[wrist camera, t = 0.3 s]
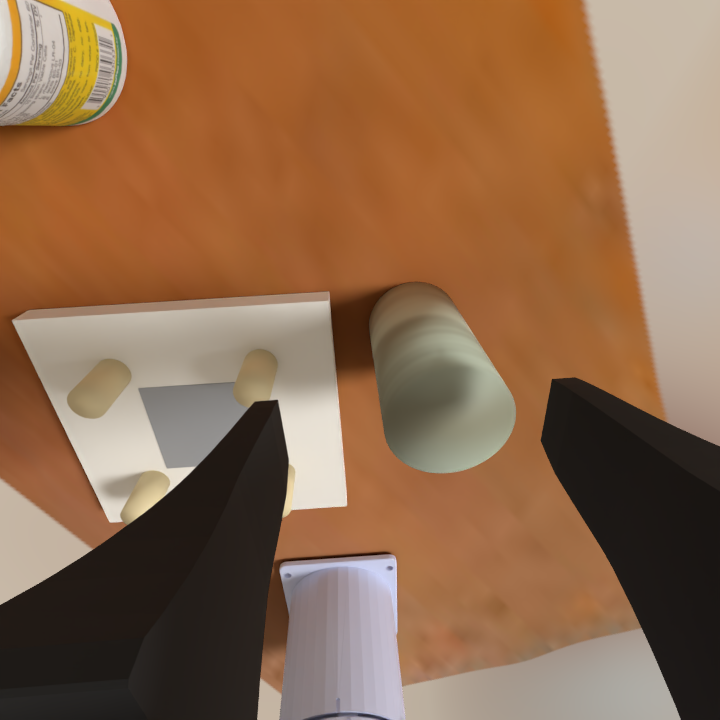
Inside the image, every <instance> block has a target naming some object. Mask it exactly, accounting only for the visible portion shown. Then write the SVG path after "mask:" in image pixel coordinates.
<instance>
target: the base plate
mask: <svg viewBox="0 0 720 720" xmlns="http://www.w3.org/2000/svg"><path fill="white" fill-rule="evenodd" d="M12 322H13V324H14V326H15V328H16V330H17V332H18V334H19V337H20V339H21V341H22V343H23V345H24V347H25V349H26V351H27V353H28V355H29V357H30V359H31V361H32V363H33V365H34V367H35V370H36V372H37V374H38V376H39V378H40V380H41V382H42V384H43V386H44V388H45V390H46V392H47V394H48V396H49V398H50V400H51V402H52V405H53V407H54V409H55V411H56V413H57V415H58V417H59V419H60V421H61V423H62V425H63V427H64V429H65V431H66V433H67V435H68V437H69V440H70V442H71V444H72V446H73V448H74V450H75V452H76V454H77V456H78V458H79V460H80V462H81V464H82V466H83V468H84V470H85V473H86V475H87V477H88V479H89V481H90V483H91V485H92V487H93V489H94V491H95V493H96V495H97V497H98V499H99V501H100V503H101V505H102V508H103V510H104V512H105V514H106V516H107V518H108V520H109V522H110V523H111V522H124V523H125V524H127V525H128V524H130V523H131V522H133V521H134V520H135V519H137V518H138V517H139V516H141V515H142V514H143V513H145V512H146V511H147V510H148V509H150V508H151V507H152V506H153V505H155V504H156V503H157V502H158V501H159V500H161V499H162V498H163V497H164V496H165V495H167V494H168V493H169V492H170V491H171V490H172V489H173V488H175V487H176V486H177V485H178V484H179V483H180V482H181V481H182V480H183V479H184V478H185V477H187V476H188V475H189V474H190V473H191V472H192V471H193V470H194V469H195V468H196V466H197V465H198V464H199V463H200V462H201V461H202V460H203V459H204V458H205V457H206V456H207V455H208V454H209V453H210V452H211V451H212V450H213V449H214V448H215V447H216V445H217V444H218V443H219V442H220V441H221V440H222V439H223V438H224V437H225V435H226V434H227V433H228V432H229V431H230V430H231V428H232V427H233V426H234V425H235V424H236V423H237V421H238V420H239V419H240V418H241V417H242V415H243V414H244V413H245V412H246V411H247V410H248V408H249V407H250V406H251V405H252V404H253V403H254V402H255V401H267V400H278V402H279V408H280V413H281V419H282V424H283V430H284V435H285V441H286V446H287V452H288V457H289V468H288V483H287V495H286V500H285V506H284V511H283V516H282V518H283V517H285V516H287V515H288V514H289V513H290V511H291V510H297V509H311V508H325V507H340V506H347V490H346V478H345V467H344V456H343V444H342V433H341V421H340V410H339V399H338V387H337V376H336V364H335V353H334V341H333V330H332V319H331V307H330V296H329V291H328V292H312V293H296V294H280V295H263V296H247V297H231V298H215V299H198V300H182V301H166V302H150V303H133V304H117V305H101V306H85V307H69V308H52V309H36V310H28V311H26V312H25V313H23V314H21V315H20V316H18V317H16V318H15V319H13V320H12Z"/></svg>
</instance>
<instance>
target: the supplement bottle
mask: <svg viewBox="0 0 720 720" xmlns="http://www.w3.org/2000/svg"><path fill="white" fill-rule="evenodd" d="M126 71H127V50H126V45H125V40H124V36H123V32H122V28H121V25H120V22H119V20H118V17H117V15H116V13H115V11H114V9H113V7H112V5H111V3H110V1H109V0H0V126H5V125H39V126H73V125H81V124H85V123H88V122H91V121H93V120H96V119H98V118H100V117H101V116H103V115H104V114H105V113H106V112H108V111H109V110H110V109H111V107H112V106H113V105H114V104H115V102H116V101H117V99H118V97H119V95H120V93H121V91H122V89H123V85H124V82H125V78H126Z"/></svg>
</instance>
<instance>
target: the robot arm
mask: <svg viewBox="0 0 720 720" xmlns="http://www.w3.org/2000/svg"><path fill="white" fill-rule="evenodd" d="M541 442H542V445H543V447H544V450H545V452H546V454H547V457H548V459H549V461H550V463H551V466H552V468H553V470H554V472H555V474H556V476H557V477H558V479H559V481H560V482H561V484H562V486H563V487H564V489H565V491H566V492H567V494H568V495H569V497H570V499H571V500H572V502H573V503H574V505H575V507H576V508H577V510H578V511H579V513H580V515H581V516H582V518H583V519H584V521H585V523H586V524H587V526H588V527H589V529H590V531H591V532H592V534H593V535H594V537H595V539H596V540H597V542H598V543H599V545H600V547H601V548H602V550H603V552H604V553H605V555H606V557H607V559H608V560H609V562H610V564H611V566H612V567H613V569H614V571H615V573H616V575H617V578H618V580H619V582H620V584H621V586H622V588H623V590H624V592H625V594H626V596H627V598H628V600H629V602H630V604H631V606H632V608H633V610H634V612H635V614H636V617H637V619H638V621H639V623H640V625H641V627H642V630H643V632H644V634H645V636H646V638H647V640H648V643H649V645H650V647H651V649H652V651H653V653H654V656H655V658H656V661H657V663H658V665H659V668H660V670H661V672H662V675H663V677H664V680H665V682H666V684H667V687H668V689H669V691H670V693H671V696H672V698H673V701H674V703H675V705H676V708H677V711H678V713H679V716H680V718H681V720H720V446H717V445H715V444H713V443H710V442H708V441H706V440H703V439H701V438H699V437H697V436H695V435H692V434H690V433H688V432H686V431H683V430H681V429H679V428H677V427H675V426H673V425H671V424H669V423H667V422H665V421H662V420H660V419H658V418H656V417H654V416H652V415H650V414H648V413H646V412H644V411H642V410H640V409H638V408H637V407H635V406H633V405H631V404H629V403H627V402H625V401H623V400H621V399H619V398H617V397H615V396H613V395H611V394H609V393H607V392H605V391H603V390H601V389H599V388H597V387H595V386H593V385H591V384H589V383H587V382H585V381H583V380H580V379H578V378H562V379H552V382H551V388H550V393H549V399H548V404H547V409H546V415H545V420H544V426H543V431H542V437H541ZM288 468H289V457H288V452H287V446H286V441H285V435H284V430H283V424H282V419H281V413H280V408H279V402H278V400H267V401H255V402H254V403H253V404H252V405H251V406H250V407H249V408H248V410H247V411H246V412H245V413H244V414H243V415H242V417H241V418H240V419H239V420H238V421H237V423H236V424H235V425H234V426H233V427H232V428H231V430H230V431H229V432H228V433H227V434H226V435H225V437H224V438H223V439H222V440H221V441H220V442H219V443H218V444H217V445H216V447H215V448H214V449H213V450H212V451H211V452H210V453H209V454H208V455H207V456H206V457H205V458H204V459H203V460H202V461H201V462H200V463H199V464H198V465H197V466H196V468H195V469H194V470H193V471H192V472H191V473H190V474H189V475H188V476H187V477H185V478H184V479H183V480H182V481H181V482H180V483H179V484H178V485H177V486H176V487H175V488H173V489H172V490H171V491H170V492H169V493H168V494H167V495H165V496H164V497H163V498H162V499H161V500H159V501H158V502H157V503H156V504H155V505H153V506H152V507H151V508H150V509H148V510H147V511H146V512H145V513H143V514H142V515H141V516H139V517H138V518H137V519H135V520H134V521H133V522H131V523H130V524H128V525H127V526H126V527H124V528H123V529H122V530H120V531H119V532H118V533H116V534H115V535H114V536H112V537H111V538H110V539H108V540H107V541H105V542H104V543H102V544H101V545H99V546H98V547H96V548H95V549H93V550H92V551H90V552H89V553H87V554H86V555H84V556H83V557H81V558H80V559H78V560H77V561H75V562H73V563H72V564H70V565H69V566H67V567H65V568H64V569H62V570H61V571H59V572H57V573H56V574H54V575H52V576H51V577H49V578H47V579H46V580H44V581H43V582H41V583H39V584H37V585H36V586H34V587H32V588H30V589H28V590H26V591H25V592H23V593H21V594H19V595H17V596H16V597H14V598H12V599H10V600H9V601H7V602H5V603H3V604H1V605H0V720H257V712H258V699H259V685H260V673H261V662H262V650H263V639H264V628H265V618H266V608H267V598H268V590H269V584H270V577H271V572H272V567H273V561H274V556H275V551H276V546H277V541H278V536H279V531H280V526H281V521H282V516H283V511H284V506H285V500H286V495H287V483H288ZM279 572H280V576H281V581H282V585H283V590H284V594H285V599H286V603H287V608H288V612H289V626H288V636H287V647H286V657H285V667H284V678H283V688H282V698H281V699H282V700H281V709H280V719H279V720H406V718H405V710H404V700H403V691H402V682H401V674H400V665H399V656H398V647H397V639H396V634H397V562H396V557H395V556H394V555H391V554H385V555H371V556H358V557H344V558H330V559H316V560H302V561H288V562H283V563H281V565H280V570H279Z"/></svg>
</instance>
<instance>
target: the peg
mask: <svg viewBox="0 0 720 720" xmlns="http://www.w3.org/2000/svg"><path fill="white" fill-rule="evenodd" d="M369 333H370V340H371V347H372V353H373V360H374V367H375V373H376V380H377V387H378V393H379V400H380V407H381V414H382V420H383V427H384V434H385V438H386V441H387V444H388V446H389V448H390V449H391V451H392V452H393V453H394V455H395V456H396V457H397V458H398V459H400V460H401V461H402V462H403V463H405V464H407V465H408V466H410V467H413V468H415V469H418V470H421V471H425V472H430V473H451V472H457V471H462V470H465V469H469V468H471V467H474V466H476V465H478V464H480V463H482V462H484V461H485V460H487V459H488V458H490V457H491V456H493V455H494V454H495V453H496V452H497V451H498V450H499V449H500V448H501V447H502V446H503V445H504V444H505V442H506V441H507V439H508V438H509V436H510V434H511V432H512V430H513V427H514V423H515V418H516V407H515V403H514V399H513V397H512V394H511V392H510V391H509V389H508V388H507V386H506V385H505V383H504V381H503V380H502V378H501V377H500V375H499V374H498V372H497V370H496V369H495V367H494V366H493V364H492V363H491V361H490V359H489V358H488V356H487V355H486V353H485V352H484V350H483V348H482V347H481V345H480V344H479V342H478V341H477V339H476V337H475V336H474V334H473V333H472V331H471V330H470V328H469V326H468V325H467V323H466V322H465V320H464V319H463V317H462V315H461V314H460V312H459V311H458V309H457V308H456V306H455V304H454V303H453V301H452V300H451V298H450V297H449V296H448V295H447V294H446V293H445V292H444V291H443V290H442V289H440V288H438V287H437V286H434V285H432V284H428V283H424V282H409V283H404V284H401V285H398V286H396V287H394V288H392V289H390V290H389V291H387V292H386V293H385V294H384V295H383V296H381V298H380V299H379V300H378V301H377V302H376V304H375V306H374V307H373V309H372V312H371V315H370V319H369Z"/></svg>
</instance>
